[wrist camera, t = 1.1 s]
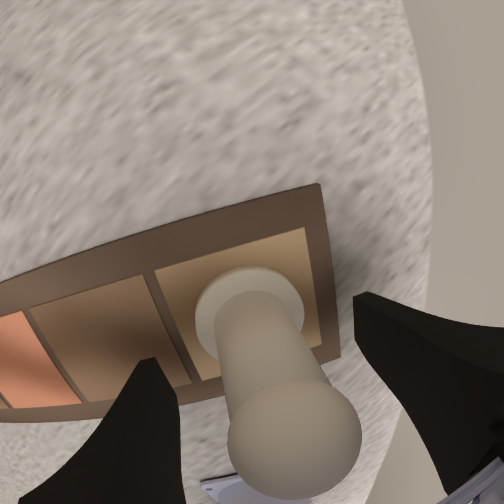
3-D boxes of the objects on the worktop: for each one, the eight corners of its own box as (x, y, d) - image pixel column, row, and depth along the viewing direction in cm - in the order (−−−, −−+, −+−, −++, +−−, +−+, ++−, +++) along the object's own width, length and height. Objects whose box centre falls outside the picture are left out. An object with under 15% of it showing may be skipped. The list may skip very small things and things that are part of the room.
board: (338, 353, 15) (341, 358, 15) (-26, 418, 12) (-27, 421, 12) (317, 183, 12) (321, 184, 11) (-90, 322, 9) (-92, 325, 8)
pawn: (304, 337, 14) (390, 483, 6) (212, 365, 13) (244, 533, 6) (288, 251, 12) (419, 402, 4) (180, 283, 11) (182, 483, 4)
